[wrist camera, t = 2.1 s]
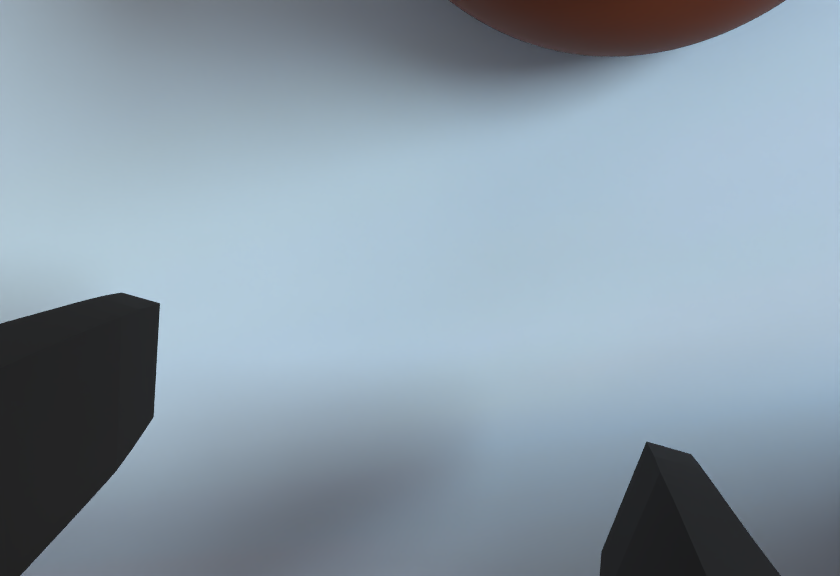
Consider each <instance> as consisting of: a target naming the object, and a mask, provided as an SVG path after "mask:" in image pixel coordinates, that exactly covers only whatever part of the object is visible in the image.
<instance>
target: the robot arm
mask: <svg viewBox="0 0 840 576" xmlns="http://www.w3.org/2000/svg"><path fill="white" fill-rule="evenodd" d="M159 309H160V303H156V302H153V301H149V300H146V299H142V298H139V297H135V296H132V295H128V294H125V293H117V294H111V295H106V296H101V297H97V298H93V299H89V300H85V301H81V302H77V303H73V304H70V305H66V306H62V307H59V308H55V309H52V310H48V311H44V312H41V313H37V314H34V315H30V316H26V317H23V318H19V319H16V320H12V321H8V322H5V323H1V324H0V576H20V575H21V574H22V573H23V572H24V571H25V570H26V569H27V568H28V567H29V566H30V564H31V563H32V562H33V561H34V560H35V559H36V558H37V557H38V556H39V555H40V554H41V553H42V551H43V550H44V549H45V548H46V547H47V546H48V545H49V544H50V543H51V542H52V541H53V540H54V539H55V537H56V536H57V535H58V534H59V533H60V532H61V531H62V530H63V529H64V528H65V527H66V526H67V525H68V523H69V522H70V521H71V520H72V519H73V518H74V517H75V516H76V515H77V514H78V513H79V512H80V511H81V509H82V508H83V507H84V506H85V505H86V504H87V503H88V502H89V501H90V500H91V498H92V497H93V496H94V495H95V494H96V493H97V492H98V491H99V490H100V489H101V487H102V486H103V485H104V484H105V483H106V482H107V481H108V480H109V479H110V477H111V476H112V475H113V474H114V473H115V472H116V471H117V469H118V468H119V466H120V465H121V464H122V462H123V461H124V460H125V458H126V457H127V455H128V454H129V453H130V451H131V450H132V448H133V447H134V446H135V444H136V443H137V441H138V440H139V438H140V437H141V435H142V434H143V432H144V431H145V429H146V428H147V426H148V425H149V423H150V422H151V420H152V419H153V416H154V399H155V381H156V363H157V345H158V327H159ZM600 576H780V574H779V573H778V572H777V570H776V569H775V568H774V566H773V565H772V564H771V563H770V561H769V560H768V559H767V557H766V556H765V555H764V553H763V552H762V551H761V549H760V548H759V547H758V545H757V544H756V543H755V541H754V540H753V538H752V537H751V536H750V534H749V533H748V532H747V530H746V529H745V528H744V526H743V525H742V523H741V522H740V521H739V519H738V518H737V516H736V515H735V514H734V512H733V511H732V509H731V508H730V507H729V505H728V504H727V502H726V501H725V500H724V498H723V497H722V495H721V494H720V493H719V491H718V490H717V488H716V487H715V486H714V484H713V483H712V481H711V480H710V479H709V477H708V476H707V474H706V473H705V472H704V470H703V469H702V468H701V466H700V465H699V464H698V462H697V461H696V460H695V459H694V457H693V456H692V455H691V454H688V453H685V452H681V451H678V450H674V449H671V448H667V447H664V446H660V445H657V444H653V443H650V442H646V444H645V447H644V449H643V452H642V454H641V457H640V459H639V461H638V464H637V466H636V469H635V471H634V474H633V476H632V479H631V481H630V483H629V486H628V488H627V491H626V493H625V496H624V498H623V501H622V503H621V505H620V508H619V510H618V513H617V515H616V518H615V520H614V523H613V525H612V527H611V530H610V532H609V535H608V537H607V540H606V542H605V545H604V547H603V549H602V553H601V566H600Z"/></svg>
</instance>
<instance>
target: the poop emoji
mask: <svg viewBox="0 0 840 576" xmlns="http://www.w3.org/2000/svg"><path fill="white" fill-rule="evenodd" d="M449 1H450V2H452V3H453V4H454V5H456V6H457V7H459V8H460V9H461V10H463V11H464V12H466V13H467V14H469V15H471V16H472V17H474V18H475V19H477V20H479V21H481V22H482V23H484V24H486V25H488V26H490V27H492V28H494V29H496V30H498V31H500V32H502V33H504V34H506V35H509V36H511V37H513V38H516V39H519V40H521V41H524V42H527V43H530V44H533V45H536V46H539V47H543V48H547V49H551V50H555V51H560V52H565V53H571V54H579V55H588V56H610V57H615V56H634V55H644V54H651V53H658V52H663V51H668V50H673V49H677V48H681V47H685V46H688V45H692V44H695V43H698V42H701V41H704V40H707V39H710V38H713V37H715V36H718V35H721V34H723V33H725V32H728V31H730V30H732V29H735V28H737V27H739V26H741V25H743V24H745V23H747V22H749V21H751V20H753V19H755V18H757V17H759V16H761V15H762V14H764V13H766V12H768V11H769V10H771V9H773V8H774V7H776V6H777V5H779V4H781V3H782V2H784V1H785V0H449Z"/></svg>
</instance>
